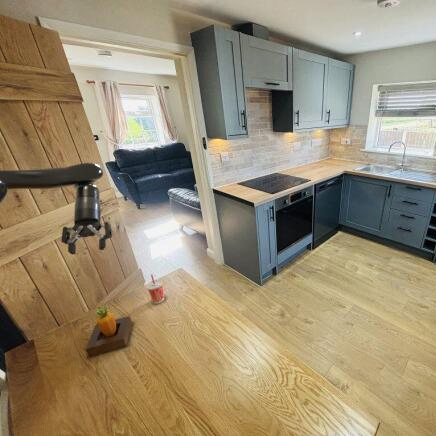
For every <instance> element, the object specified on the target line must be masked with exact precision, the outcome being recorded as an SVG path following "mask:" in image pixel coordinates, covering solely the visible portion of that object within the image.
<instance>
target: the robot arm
mask: <svg viewBox="0 0 436 436" xmlns="http://www.w3.org/2000/svg"><path fill="white" fill-rule="evenodd" d="M103 175H104V170H103V169H102V167H101V166H100V165H99V164H96V163H94V162H83V163H77V164H73V165H69V166H64V167H63V166H61V167H49V168H39V169H38V168H36V169H15V170H14V169H11V170H10V169H9V170H7V169H6V170H5V169H4V170H2V169H0V205H1V204H2V203H3V201H4V200H5V199H6V197H7V196H8V192H9V191H10V190H51V189H52V190H53V189H60V188H67V187H71V186H74V189H75V202H74V217H73V221H74V222H73V223H74V224H73V226H71V227H69V226H68V227H67V226H63V227H62V231H61V240H60V242H61V243H63V244H64V245H67V252H68V253H69V254H70V255H76V252H77V243H78V241H80V240H82V238H88V237H95V236H96V237H98V238H99V239H98V250H100V251H105V249H106V244H107V241H106V240H108V239H111V238H112V237H113V236H112V235H113V234H112V226H111V225H112V224H111V223H109V222H108V221H105V222H102V223H101V211H102V208H101V203H100V190H99V188H98V187H97V186H96V185H94V183H95V182H97V181H99V180H101V179H102V177H103ZM102 228H103V229H104V231H105V232H104V235H103V234H102V233H101V232H100V230H101V229H102ZM73 232H74V233H73Z"/></svg>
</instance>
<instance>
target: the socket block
mask: <svg viewBox="0 0 436 436" xmlns="http://www.w3.org/2000/svg"><path fill="white" fill-rule="evenodd" d="M115 322H116V333H117V334H116V335H115V336H113V337H109V338H108V337H106V336H105V335H104V334H103V333H102V332H101V331H100V329H99V327H98V325H97V323H96V324H95V325H94V327H93V329H92V332H91V335H90V337H89V339H88V342H87V344H86V346H85V352H86V353H87V355H88V358H91V357H95V356H99V355H101V354H104V353H109V352H111V351H115V350H119V349H123V348H126V347H127V346H128V342H129V338H130V334H131V330H132V326H133V321H132V319H131V316H130V315H128V316H125V317H120V318H115ZM105 337H106V338H105Z"/></svg>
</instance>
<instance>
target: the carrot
mask: <svg viewBox="0 0 436 436" xmlns="http://www.w3.org/2000/svg"><path fill="white" fill-rule="evenodd" d="M108 306H109V304H106V305H105V306H104V311H103V310H102V309H101V308H97V310H96V311H95V313H96V314H97V315H98V316H97V318H96V322H95V323H96V324H97V325H98V327H99V329H100V331H101V332H102V333H103V334H104V335H105V336H104V337H106V338H109V337H113V336H117V334H116V333H117V332H116V322H115V319H116V318H115V315H114V314H113V313H112V312H110V309H108Z"/></svg>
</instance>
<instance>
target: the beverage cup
mask: <svg viewBox="0 0 436 436" xmlns="http://www.w3.org/2000/svg"><path fill="white" fill-rule="evenodd" d="M150 276H151V281H149V282H147V284H146V285H145V287H146V290H147V291H148V294H149V296H150V298H151V300H152V303H153V304H154V305H157V304H161V303H163V302H164V300H165V294H164V287H163V281H162V280H161V279H154V275H153V274H150Z"/></svg>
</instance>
